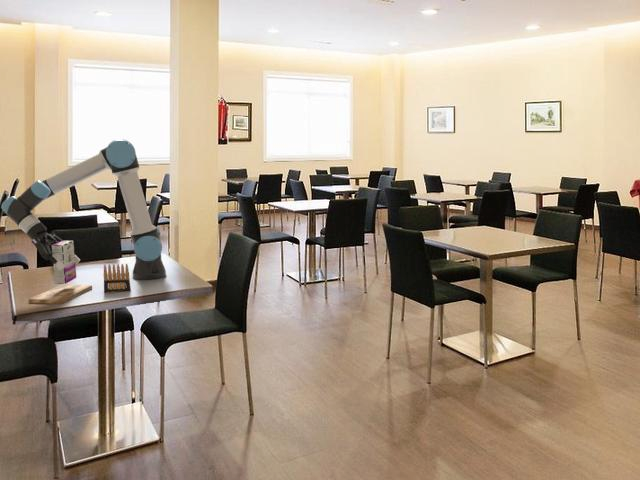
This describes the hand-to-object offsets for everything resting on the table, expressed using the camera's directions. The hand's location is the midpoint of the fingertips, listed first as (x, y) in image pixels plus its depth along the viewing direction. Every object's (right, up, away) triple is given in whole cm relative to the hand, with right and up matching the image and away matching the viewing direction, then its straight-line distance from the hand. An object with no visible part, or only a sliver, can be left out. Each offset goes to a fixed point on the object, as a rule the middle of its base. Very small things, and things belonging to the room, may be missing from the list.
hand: (70, 265), depth 255 cm
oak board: (-3, -13, -2) cm, 13 cm away
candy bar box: (-3, -7, +1) cm, 8 cm away
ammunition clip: (+18, -12, +4) cm, 22 cm away
